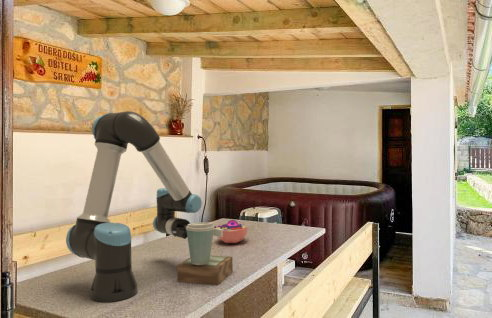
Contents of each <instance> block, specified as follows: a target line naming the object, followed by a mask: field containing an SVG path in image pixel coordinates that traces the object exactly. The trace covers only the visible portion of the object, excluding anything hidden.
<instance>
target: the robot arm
mask: <svg viewBox="0 0 492 318" xmlns="http://www.w3.org/2000/svg"><path fill="white" fill-rule="evenodd" d="M91 130H92V131H91V132H92V133H91V134H92V135H93V139H94V140H95V141H94V146H95V148H96V149H97V151H96V154H95V160H94V164H93V168H92V172H91V176H90V182H89V184H88V190H87V194H86V197H85V202H84V207H83V211H82V213H81V214H80V215H79V216H77V217H76V220H75V224H73V225H72V226H71V227H70V228H69V229H68V231H67V233H66V235H65V236H66V237H65V243H66V246H67V248H68V250H69V252H71V254H73V255H75V256H76V257H80V258H83V259H89V260H93V261H95V262H94V263H95V273H94V278H93V281H92V284H91V287H90V288H91V289H90V299H91V300H92V301H96V302H102V303H108V302H109V303H110V302H118V301H123V300H126V299H130V298H131V297H133V296H135V295H136V294H137V293H138V283H137V281H136V277H135V275H134V272H133V268H132V266H133V265H132V234H131V228H130V227H129V226H128V225H126V224H124V223H120V222H111V221H110V219H109V218H108V216H109V212H110V207H111V203H112V198H113V193H114V190H115V189H114V188H115V184H116V180H117V175H118V171H119V166H120V161H121V157H122V155H123V154H124V153H125V152H127V149H128V146H129V144H130V145H132V146H133V147H134V148H135V150H136V151H137V152H138V153H139V152H140V153H141V154H142V155H143V156H144V157H145V159H146V161H147V162H148V163H149V165H150V167H151V168H152V170H153V171H154V173H155V175H156V176H157V177H158V178H159V180H160V182H161V183H162V185H163V186H164V187H162V188H157V190H156V216H155V217H154V218H153V221H152V226H153V229H154V230H156V232H159V233H160V234H164V235H165V234H166V235H169V236H170V235H171V236H173V237H174V238H176V237H177V238H181V239H184V240H186V239H188V237H187V230H186V226H187V225H188V224H191V222H190V221H189V220H187V219H185V218H181V217H176V216H175V215H176V212H179V213H187V214H196V213H197V212H199V211H200V209H201V207H202V204H203V202H202V199H201V196H199V195H198V194H195V193H193V194H192V192H191V191H190V190H191V189H189V187H188V186H187V183H186V182H185V181H184V179H183V177H182V176H181V174H180V172H179V170H178V169H177V168H176V166H175V165H174V163H173V161H172V159H171V158H170V156H169V154H168V153H167V151H166V150H165V149H164V147H163V145H162V144H161V142H160V140H161V137H160V135H159V134H158V133H157V131H156V129H155V128H154V126H153V125H152V124H151V123H150V122H149V121H148V120H147V119H146V118H145V117H144V116H142V114H140V113H137V112H134V111H129V110H128V111H121V112H120V111H119V112H108V113H105V114H101V115H100V116H98V117H97V118H96V119H95V120H94V122H93V125H92V129H91ZM214 226H215V225H214ZM216 226H217V225H216ZM216 226H215V229H214V232H213V237H215V236H216V237H217V236H219V237H223V230H222V229H217V228H216Z"/></svg>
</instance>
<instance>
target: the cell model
mask: <svg viewBox="0 0 492 318" xmlns="http://www.w3.org/2000/svg"><path fill="white" fill-rule="evenodd" d="M216 228H217V229H222V230H223V237H219V236H216V237H217V238H218V239H219V240H221V241H222V242H224V243H225V244H238V243H240V242H241V241H243V240H244V239H245V238H246V237H247V235H248V226H247V225H246V224H244V223H238V222H237V220H235V219H230V220H228V221H227V223H223V224H219V225H216Z"/></svg>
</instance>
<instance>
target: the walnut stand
mask: <svg viewBox="0 0 492 318" xmlns="http://www.w3.org/2000/svg"><path fill="white" fill-rule="evenodd" d="M233 263H234V262H233V256H229V255H227V256H226V255H212V254H210V260H209V263H208V264H205V265H194V264H192V262H191V258H190V257H188V258H187V259H185V260H184V261H182V262H180V263H179V264H177V265H176V271H177V272H176V279H177V280H176V281H177V282H180V283H188V284H189V283H190V284H191V283H192V284H203V285H215V286H219V285H220V284H221V283H222V282H223V281H224V280H225V279H226V278H228V277H229V276H230V275H231V274H233V272H234V271H233V270H234V269H233V267H234V266H233Z"/></svg>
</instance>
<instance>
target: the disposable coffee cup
mask: <svg viewBox="0 0 492 318" xmlns="http://www.w3.org/2000/svg"><path fill="white" fill-rule="evenodd" d="M214 229H215V225H214V222H190V224H188V225H187V226H186V230H187V243H188V251H189V258H191V262H192V264H194V265H205V264H208V263H209V260H210V255H211V252H212V246H213V239H214V238H213V237H214V235H213V232H214Z"/></svg>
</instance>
